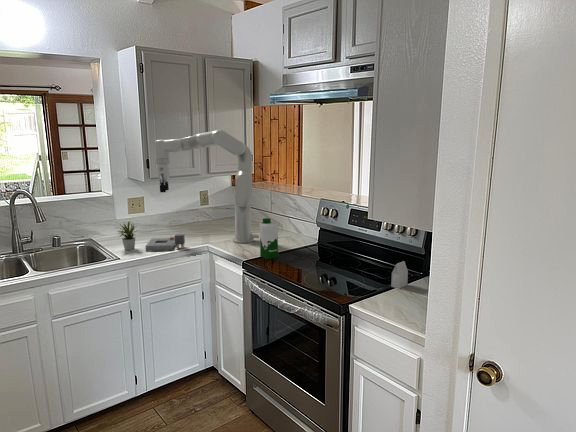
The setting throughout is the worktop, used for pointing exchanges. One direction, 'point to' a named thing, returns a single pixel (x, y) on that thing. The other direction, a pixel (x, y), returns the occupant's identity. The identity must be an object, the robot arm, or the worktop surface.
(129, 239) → the house plant
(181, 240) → the plug
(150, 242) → the socket plate
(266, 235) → the milk carton
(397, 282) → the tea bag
